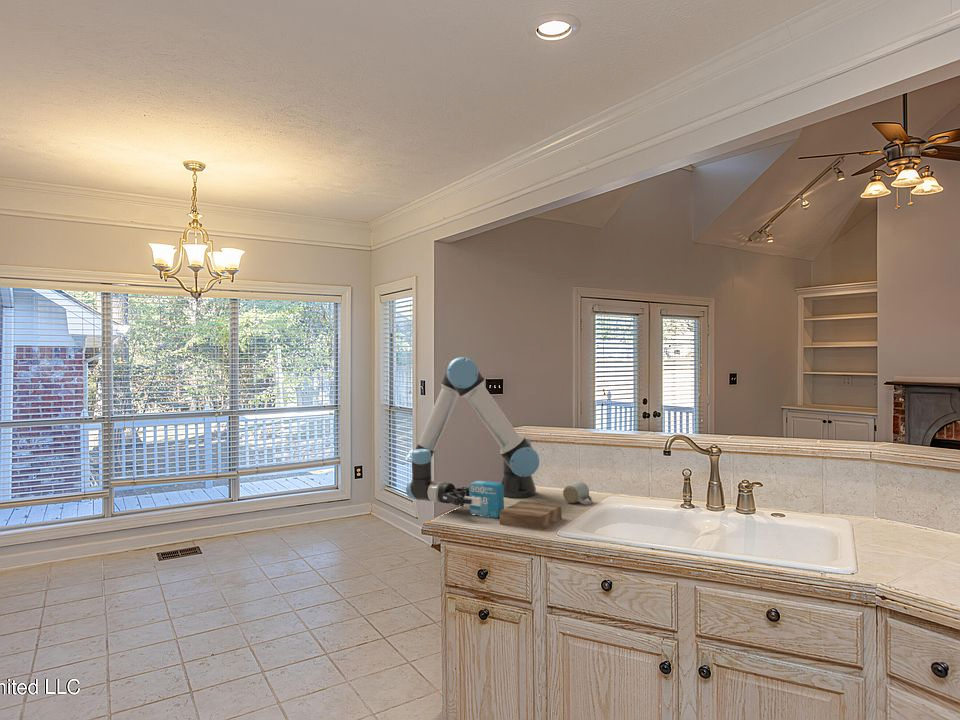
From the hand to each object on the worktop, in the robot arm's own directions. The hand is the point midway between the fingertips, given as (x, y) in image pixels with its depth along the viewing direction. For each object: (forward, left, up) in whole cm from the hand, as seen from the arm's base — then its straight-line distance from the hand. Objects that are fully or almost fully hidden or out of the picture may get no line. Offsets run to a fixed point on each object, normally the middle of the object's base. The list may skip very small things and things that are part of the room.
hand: (490, 498), depth 220 cm
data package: (0, -2, -7) cm, 7 cm away
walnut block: (0, +16, -7) cm, 18 cm away
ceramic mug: (-33, +21, -7) cm, 39 cm away
